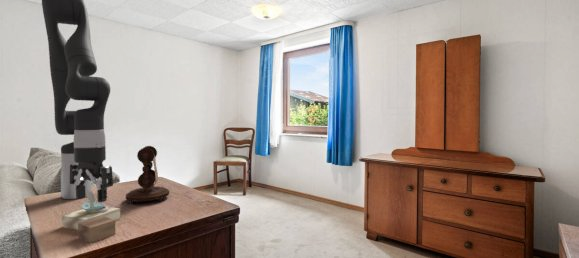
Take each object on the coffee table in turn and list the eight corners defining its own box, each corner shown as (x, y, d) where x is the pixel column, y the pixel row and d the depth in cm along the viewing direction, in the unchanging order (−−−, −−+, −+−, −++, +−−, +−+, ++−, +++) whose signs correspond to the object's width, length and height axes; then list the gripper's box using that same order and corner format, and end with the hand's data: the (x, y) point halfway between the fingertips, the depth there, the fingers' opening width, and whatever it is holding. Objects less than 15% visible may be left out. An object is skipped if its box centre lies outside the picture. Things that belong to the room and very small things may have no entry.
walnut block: (78, 238, 73) (77, 223, 73) (103, 230, 78) (102, 216, 78) (90, 243, 70) (90, 227, 70) (115, 234, 75) (115, 220, 75)
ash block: (62, 229, 80) (61, 215, 79) (96, 217, 89) (96, 205, 89) (87, 234, 76) (86, 219, 76) (120, 221, 86) (120, 208, 86)
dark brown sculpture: (167, 203, 102) (166, 148, 101) (121, 207, 97) (119, 149, 96) (171, 192, 116) (170, 144, 115) (130, 195, 111) (129, 145, 110)
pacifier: (102, 206, 88) (79, 210, 83) (103, 186, 88) (80, 189, 83) (112, 211, 84) (88, 216, 79) (112, 190, 83) (89, 194, 79)
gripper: (59, 145, 80) (60, 201, 81) (95, 147, 76) (96, 206, 77) (85, 143, 88) (86, 194, 88) (120, 145, 83) (121, 199, 84)
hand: (91, 200), depth 82 cm, fingers open, 8 cm apart
